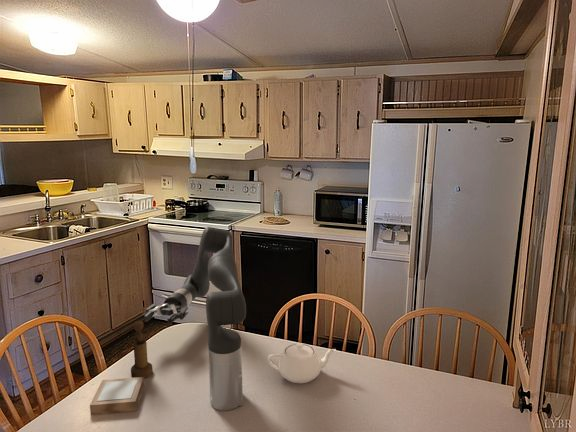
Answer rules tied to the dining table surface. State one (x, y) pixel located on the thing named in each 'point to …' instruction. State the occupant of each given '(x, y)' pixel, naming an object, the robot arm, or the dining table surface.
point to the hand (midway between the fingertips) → (157, 320)
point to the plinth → (117, 396)
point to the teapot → (300, 363)
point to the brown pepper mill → (140, 354)
